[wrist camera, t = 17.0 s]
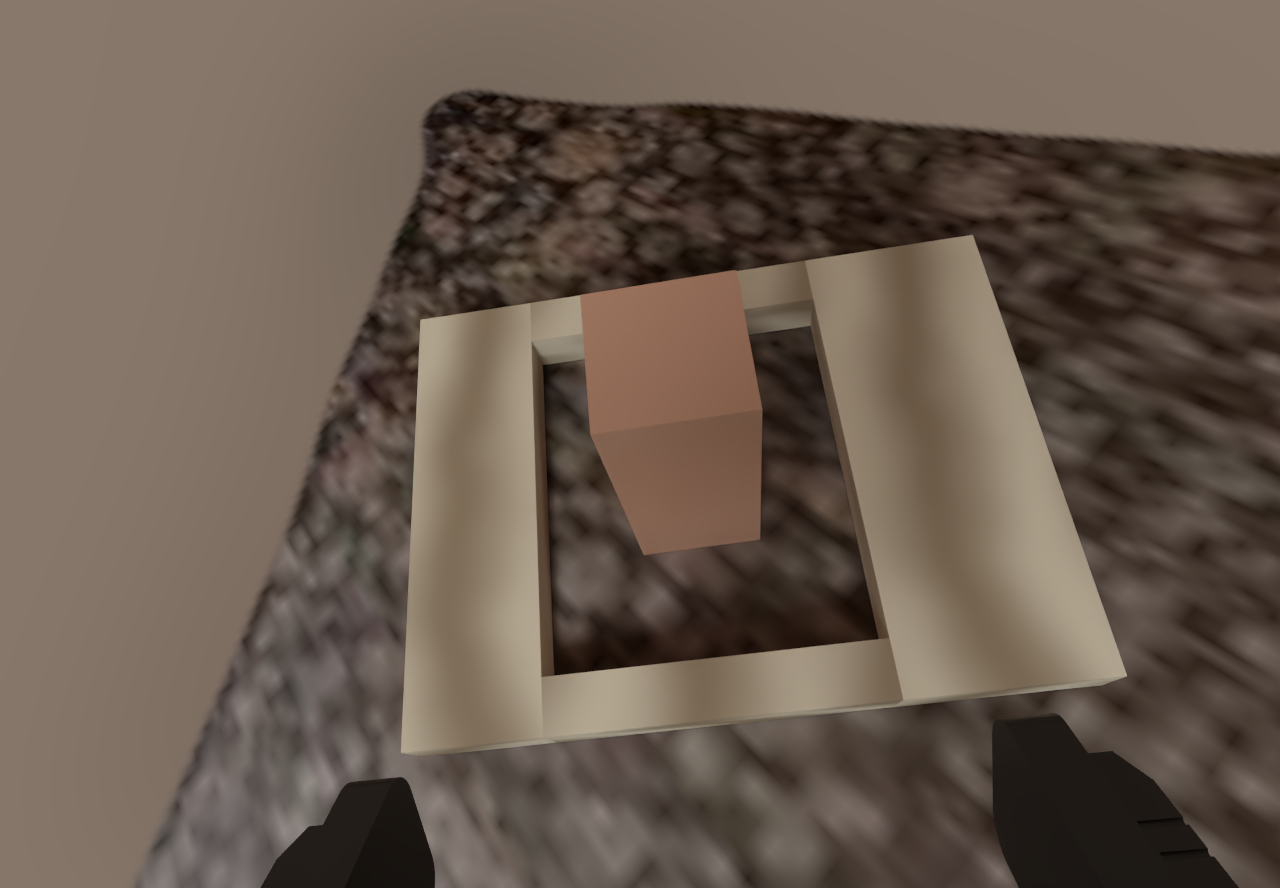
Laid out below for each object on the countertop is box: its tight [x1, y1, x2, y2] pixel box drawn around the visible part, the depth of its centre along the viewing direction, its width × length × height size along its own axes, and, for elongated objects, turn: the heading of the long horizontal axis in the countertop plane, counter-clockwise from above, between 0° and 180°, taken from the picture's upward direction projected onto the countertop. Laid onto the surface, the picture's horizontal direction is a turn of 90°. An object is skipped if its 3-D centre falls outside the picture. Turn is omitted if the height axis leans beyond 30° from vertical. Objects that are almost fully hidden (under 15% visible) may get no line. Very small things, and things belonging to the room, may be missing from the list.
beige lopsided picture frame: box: [401, 235, 1127, 756], centre depth 30 cm, size 24×18×2 cm
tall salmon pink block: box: [580, 270, 762, 555], centre depth 26 cm, size 5×5×11 cm
